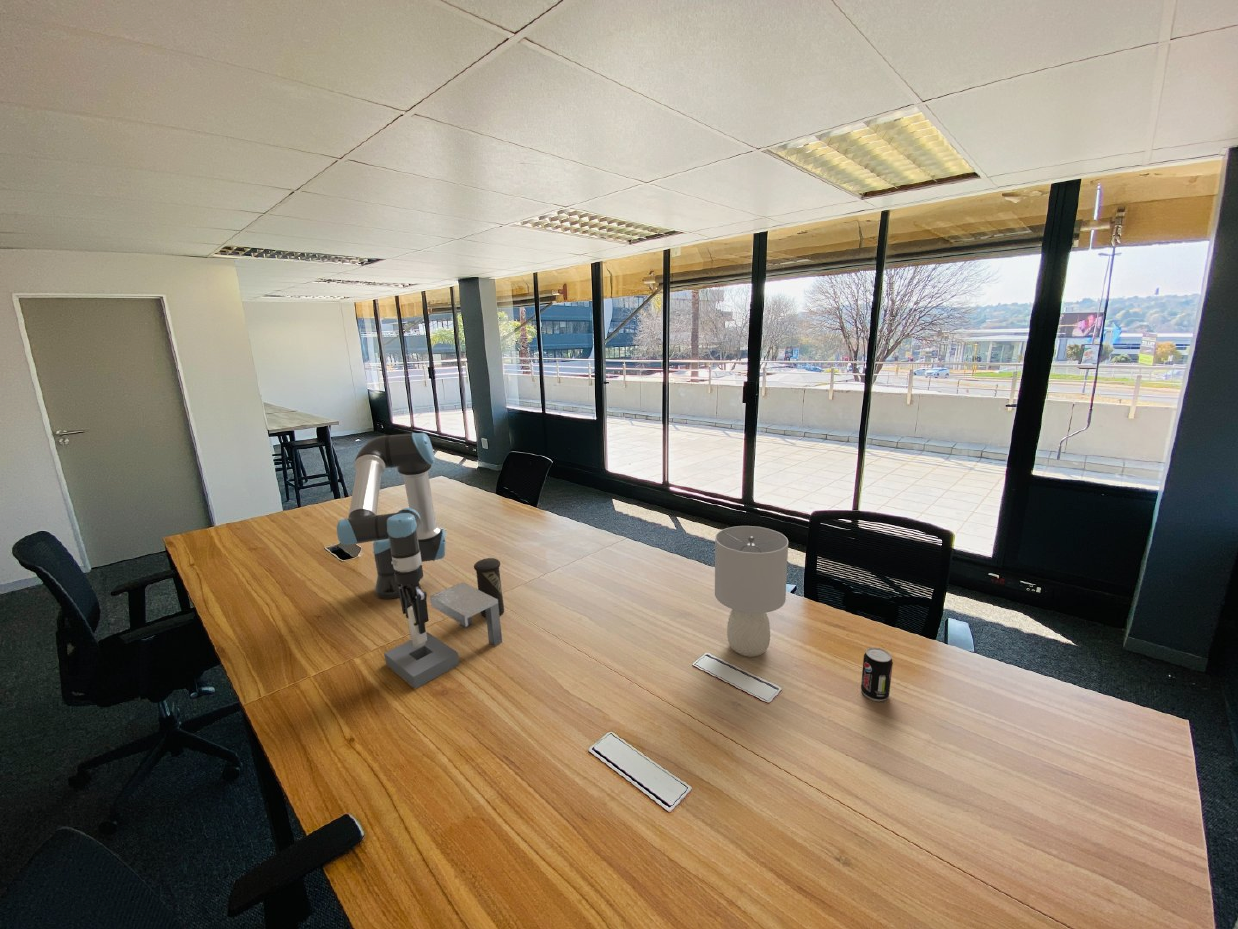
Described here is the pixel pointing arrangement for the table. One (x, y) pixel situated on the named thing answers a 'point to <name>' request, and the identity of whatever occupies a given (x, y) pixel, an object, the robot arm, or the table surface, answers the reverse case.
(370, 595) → the table surface
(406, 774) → the table surface
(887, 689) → the beverage can
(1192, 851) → the table surface
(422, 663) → the socket block
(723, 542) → the lamp
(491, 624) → the grey legged flat piece
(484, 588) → the container
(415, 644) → the peg
